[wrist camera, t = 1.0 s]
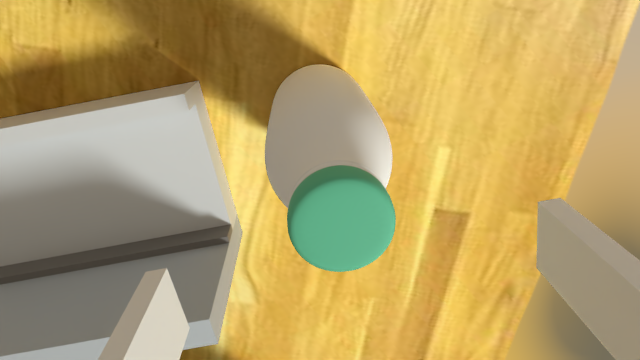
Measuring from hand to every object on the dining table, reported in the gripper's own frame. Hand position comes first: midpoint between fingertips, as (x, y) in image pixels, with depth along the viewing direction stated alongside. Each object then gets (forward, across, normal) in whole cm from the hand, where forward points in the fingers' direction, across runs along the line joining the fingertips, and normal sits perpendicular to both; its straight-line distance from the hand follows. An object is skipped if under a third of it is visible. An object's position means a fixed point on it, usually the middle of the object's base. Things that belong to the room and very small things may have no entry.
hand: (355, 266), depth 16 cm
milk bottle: (+23, 0, 0) cm, 23 cm away
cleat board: (+23, -21, -3) cm, 31 cm away
